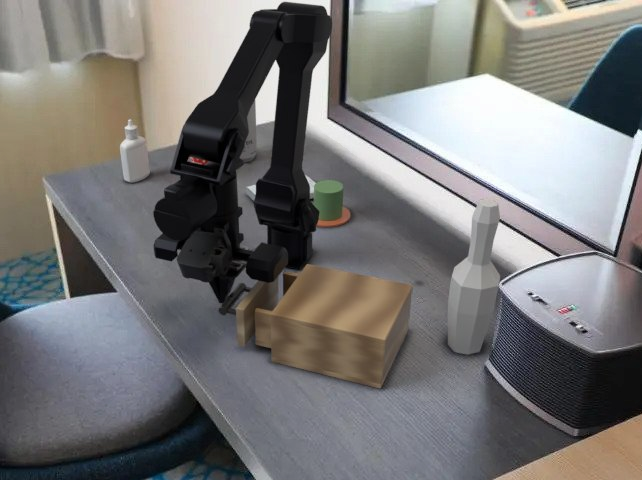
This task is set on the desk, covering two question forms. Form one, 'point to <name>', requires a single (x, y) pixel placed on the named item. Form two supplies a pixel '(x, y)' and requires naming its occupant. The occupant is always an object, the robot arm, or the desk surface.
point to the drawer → (256, 309)
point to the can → (328, 199)
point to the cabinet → (341, 324)
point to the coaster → (338, 222)
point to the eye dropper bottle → (134, 155)
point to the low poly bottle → (474, 284)
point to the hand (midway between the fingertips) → (223, 302)
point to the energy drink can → (250, 136)
